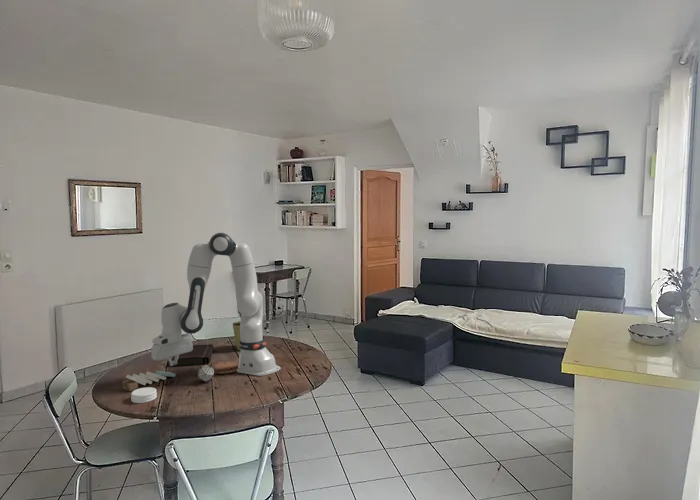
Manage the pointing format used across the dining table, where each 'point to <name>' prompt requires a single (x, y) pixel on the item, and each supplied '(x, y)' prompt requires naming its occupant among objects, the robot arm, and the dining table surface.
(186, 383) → the dining table surface
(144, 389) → the coaster
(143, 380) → the domino
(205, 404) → the dining table surface
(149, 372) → the domino
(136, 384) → the block
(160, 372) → the domino
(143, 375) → the domino
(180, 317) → the robot arm
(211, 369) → the game die
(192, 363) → the diary
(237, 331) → the potted cactus
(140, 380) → the domino
